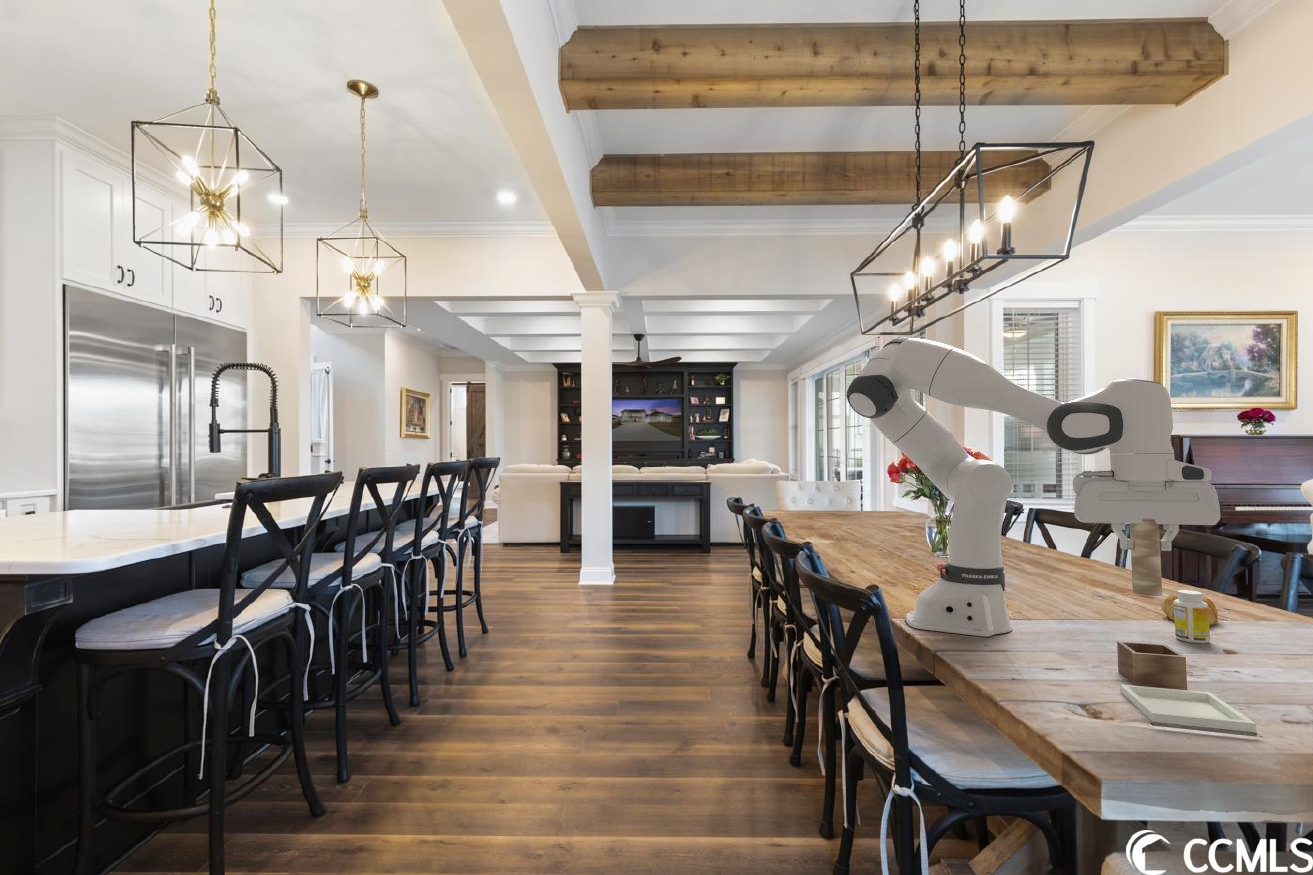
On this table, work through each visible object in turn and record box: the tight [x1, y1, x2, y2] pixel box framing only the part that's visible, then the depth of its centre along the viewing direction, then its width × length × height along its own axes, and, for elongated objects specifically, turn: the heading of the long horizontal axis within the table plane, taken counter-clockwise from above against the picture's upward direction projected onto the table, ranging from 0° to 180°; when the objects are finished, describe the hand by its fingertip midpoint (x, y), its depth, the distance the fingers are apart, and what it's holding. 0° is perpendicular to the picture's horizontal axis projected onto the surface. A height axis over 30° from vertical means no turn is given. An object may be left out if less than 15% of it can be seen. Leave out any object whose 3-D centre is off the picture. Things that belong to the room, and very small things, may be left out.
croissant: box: [1160, 592, 1219, 626], centre depth 145 cm, size 21×10×8 cm, turn 138°
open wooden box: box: [1116, 640, 1188, 690], centre depth 105 cm, size 7×7×6 cm
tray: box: [1119, 683, 1258, 737], centre depth 93 cm, size 12×12×2 cm
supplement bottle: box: [1174, 589, 1211, 644], centre depth 130 cm, size 6×6×10 cm
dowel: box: [1129, 519, 1163, 597], centre depth 106 cm, size 4×4×13 cm
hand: (1145, 549), depth 106 cm, fingers closed on dowel, 4 cm apart
